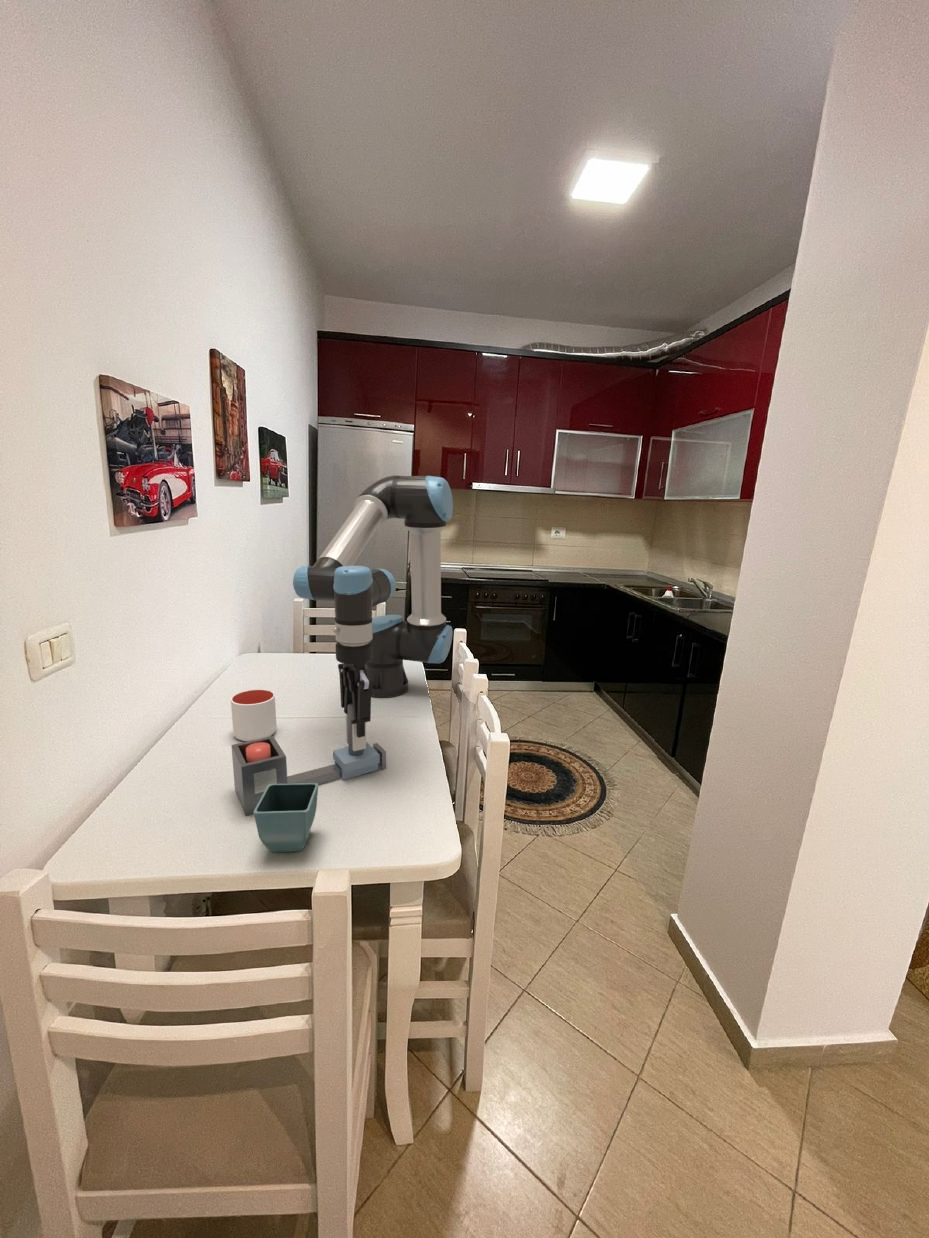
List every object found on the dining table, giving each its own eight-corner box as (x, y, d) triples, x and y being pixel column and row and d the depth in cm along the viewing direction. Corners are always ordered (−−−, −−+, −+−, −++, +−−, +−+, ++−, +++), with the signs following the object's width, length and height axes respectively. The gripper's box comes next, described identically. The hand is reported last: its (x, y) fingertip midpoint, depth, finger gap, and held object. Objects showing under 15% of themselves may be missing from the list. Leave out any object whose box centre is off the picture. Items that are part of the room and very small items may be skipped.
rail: (377, 758, 118) (376, 742, 117) (386, 768, 114) (386, 751, 113) (278, 784, 106) (277, 767, 105) (285, 796, 102) (284, 778, 101)
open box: (275, 779, 108) (273, 735, 106) (288, 803, 100) (286, 756, 98) (234, 789, 104) (231, 744, 102) (245, 816, 96) (241, 767, 93)
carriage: (367, 757, 118) (366, 696, 114) (379, 771, 112) (379, 707, 109) (333, 766, 114) (331, 703, 110) (344, 781, 108) (342, 715, 104)
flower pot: (270, 827, 93) (268, 782, 91) (320, 826, 94) (318, 782, 92) (255, 860, 84) (252, 812, 82) (310, 859, 85) (308, 811, 83)
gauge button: (268, 763, 104) (267, 740, 103) (273, 772, 100) (272, 749, 99) (245, 768, 101) (243, 745, 100) (250, 778, 98) (248, 755, 97)
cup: (262, 745, 123) (259, 706, 120) (224, 740, 125) (221, 702, 122) (284, 728, 132) (282, 691, 130) (249, 723, 134) (247, 687, 132)
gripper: (323, 634, 111) (326, 734, 116) (351, 654, 98) (353, 766, 103) (356, 630, 115) (357, 727, 120) (387, 649, 102) (387, 757, 107)
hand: (355, 745), depth 112 cm, fingers closed on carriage, 3 cm apart
